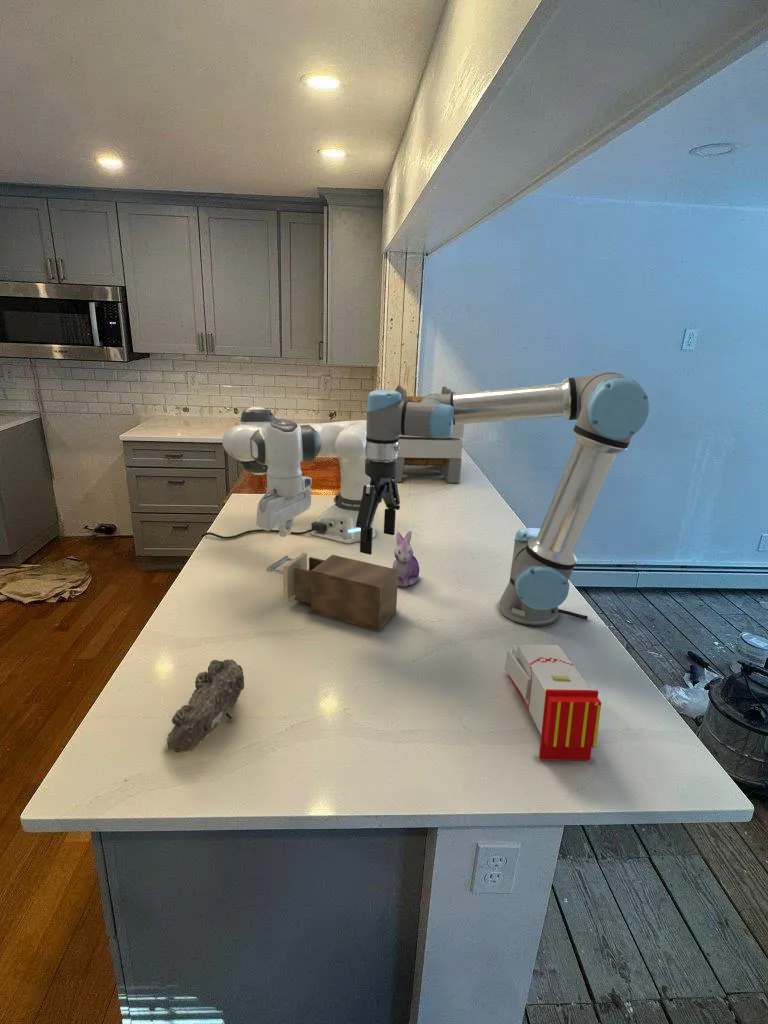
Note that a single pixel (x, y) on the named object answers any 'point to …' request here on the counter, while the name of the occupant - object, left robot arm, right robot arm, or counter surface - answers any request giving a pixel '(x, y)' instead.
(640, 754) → the counter surface
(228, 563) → the counter surface
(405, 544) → the figurine
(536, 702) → the toy
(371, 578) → the cabinet
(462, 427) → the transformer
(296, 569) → the drawer
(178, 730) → the fossil
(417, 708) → the counter surface
